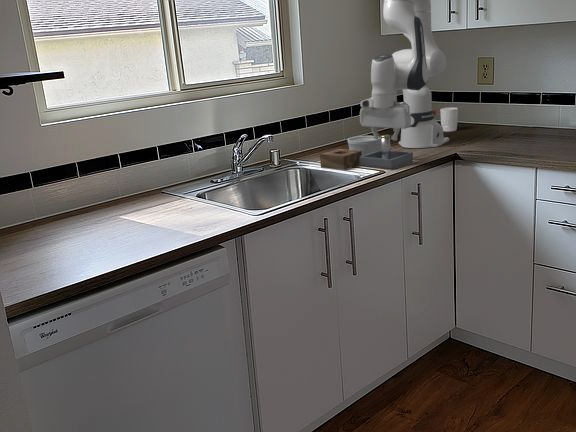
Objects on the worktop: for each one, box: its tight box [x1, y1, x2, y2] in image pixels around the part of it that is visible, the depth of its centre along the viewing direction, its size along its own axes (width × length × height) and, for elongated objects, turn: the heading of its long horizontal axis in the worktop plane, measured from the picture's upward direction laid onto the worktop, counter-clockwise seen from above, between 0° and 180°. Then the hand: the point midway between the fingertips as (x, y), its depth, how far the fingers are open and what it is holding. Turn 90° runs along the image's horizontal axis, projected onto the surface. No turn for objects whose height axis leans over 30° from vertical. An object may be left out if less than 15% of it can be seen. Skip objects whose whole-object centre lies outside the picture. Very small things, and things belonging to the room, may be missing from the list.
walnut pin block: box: [319, 148, 362, 171], centre depth 236 cm, size 11×11×5 cm
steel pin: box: [380, 134, 392, 159], centre depth 232 cm, size 3×3×10 cm
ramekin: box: [347, 135, 381, 156], centre depth 251 cm, size 13×13×7 cm
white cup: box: [439, 107, 459, 133], centre depth 291 cm, size 8×8×10 cm
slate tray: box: [359, 149, 414, 170], centre depth 233 cm, size 14×14×4 cm
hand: (385, 139), depth 231 cm, fingers open, 6 cm apart
